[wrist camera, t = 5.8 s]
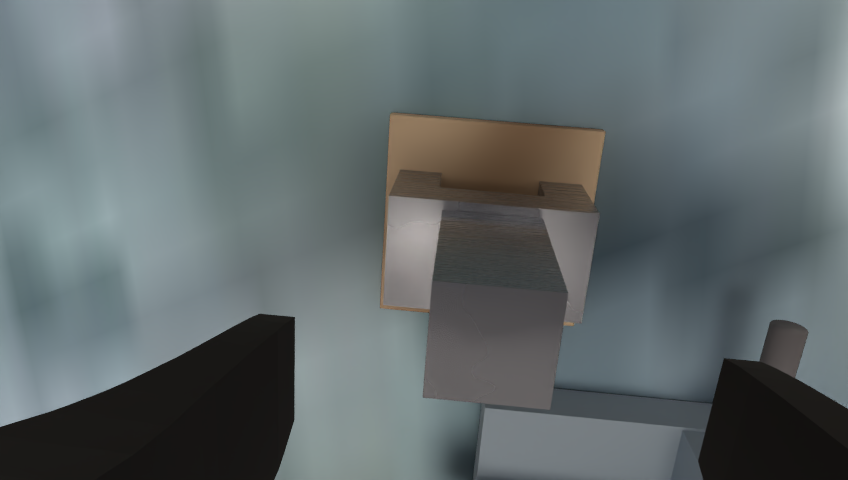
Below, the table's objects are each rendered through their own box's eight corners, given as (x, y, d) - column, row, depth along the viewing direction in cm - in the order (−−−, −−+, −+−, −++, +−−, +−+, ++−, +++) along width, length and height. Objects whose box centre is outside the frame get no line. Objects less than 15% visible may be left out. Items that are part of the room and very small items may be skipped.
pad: (602, 129, 19) (605, 132, 18) (571, 320, 21) (573, 326, 20) (391, 112, 19) (390, 114, 18) (381, 302, 21) (379, 308, 20)
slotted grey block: (566, 281, 20) (617, 427, 13) (394, 265, 20) (354, 401, 13) (581, 184, 19) (645, 287, 12) (400, 169, 19) (359, 261, 12)
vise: (797, 289, 20) (891, 371, 15) (715, 575, 24) (772, 706, 19) (458, 259, 20) (455, 329, 16) (431, 544, 24) (422, 666, 20)
